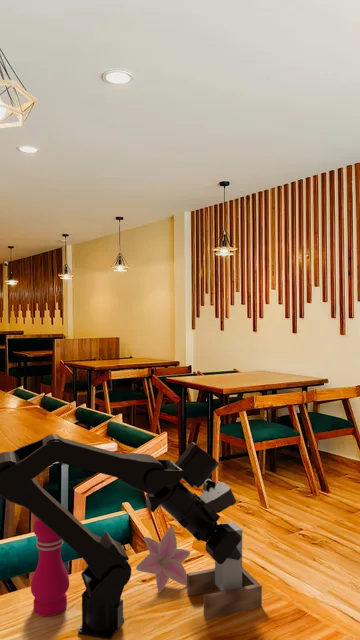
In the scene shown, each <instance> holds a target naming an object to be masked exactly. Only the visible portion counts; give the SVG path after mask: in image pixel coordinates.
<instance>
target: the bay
mask: <svg viewBox="0 0 360 640" xmlns="http://www.w3.org/2000/svg"><path fill="white" fill-rule="evenodd" d="M186 573H187V572H186ZM262 589H263V587H262V585H261V584H260V583H259V582H258V581H257V580H256V579H255V578H254V577H253V575H251V574H250V572H248V571H247V569H246V568H244V566H242V587H240V588H235V589H231V590H226V591H221V590H220V589H219V588H218V587H217V586H216V584H215V567H213V568H208V569H204V570H198V571H194V572H193V571H192V572H189V573H187V586H186V594H187V595H188V596H193V595H198V594H203V593H208V592H213V591H217V592H213V593H208V594H204V595H203V618H204V619H205V620H208V619H214V618H218V617H221V616H226V615H231V614H235V613H240V612H243V611H247V610H252V609H257V608H260V607H261V608H262V605H263V599H262V598H263V596H262V595H263V592H262V591H263V590H262ZM218 590H220V591H218Z"/></svg>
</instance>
